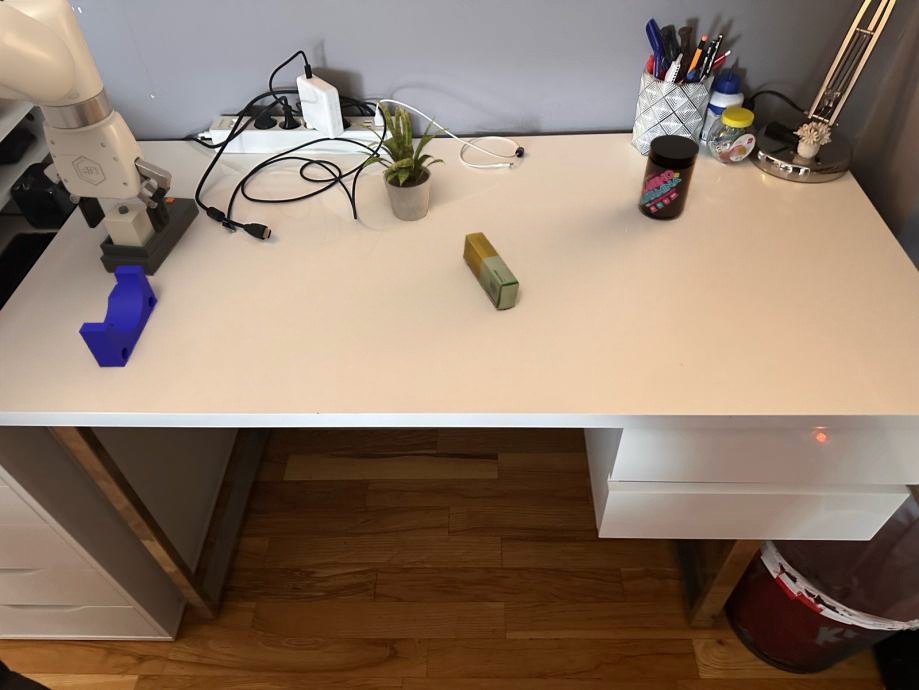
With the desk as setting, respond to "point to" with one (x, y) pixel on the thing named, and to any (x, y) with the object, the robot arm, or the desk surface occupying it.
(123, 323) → the blue curved cradle bracket
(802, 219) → the desk surface
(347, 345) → the desk surface
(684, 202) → the supplement container
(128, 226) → the block
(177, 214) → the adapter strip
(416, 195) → the house plant
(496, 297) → the medication box
